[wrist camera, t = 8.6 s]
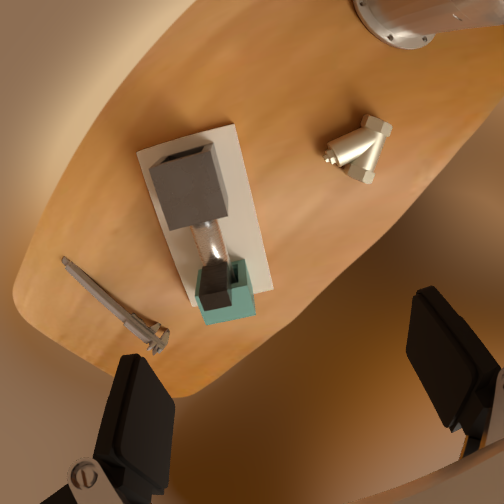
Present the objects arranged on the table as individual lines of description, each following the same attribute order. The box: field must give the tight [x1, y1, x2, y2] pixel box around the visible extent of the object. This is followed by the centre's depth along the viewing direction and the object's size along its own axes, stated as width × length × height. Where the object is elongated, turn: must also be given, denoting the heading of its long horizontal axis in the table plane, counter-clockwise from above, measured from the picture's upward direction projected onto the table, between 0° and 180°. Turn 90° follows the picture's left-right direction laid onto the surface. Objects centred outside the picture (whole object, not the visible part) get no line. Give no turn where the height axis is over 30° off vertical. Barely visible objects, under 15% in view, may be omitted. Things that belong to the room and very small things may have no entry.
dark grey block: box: [149, 142, 228, 231], centre depth 33 cm, size 6×7×6 cm
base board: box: [136, 124, 274, 307], centre depth 40 cm, size 12×23×1 cm, turn 13°
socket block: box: [195, 259, 256, 325], centre depth 40 cm, size 6×5×6 cm
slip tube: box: [189, 219, 237, 311], centre depth 35 cm, size 3×14×9 cm, turn 13°
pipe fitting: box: [323, 114, 392, 184], centre depth 35 cm, size 8×4×7 cm
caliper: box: [62, 256, 170, 356], centre depth 42 cm, size 20×1×6 cm, turn 47°
